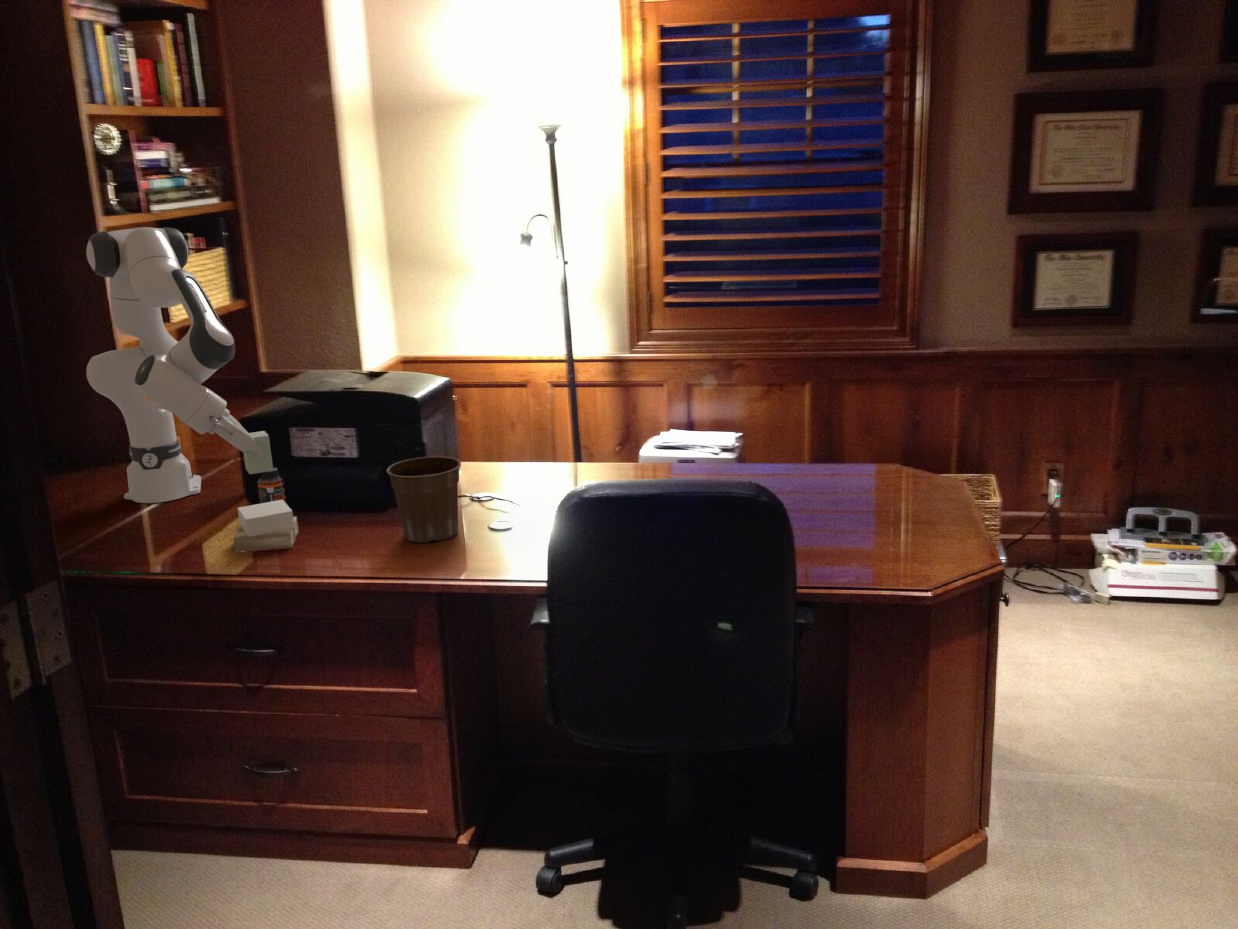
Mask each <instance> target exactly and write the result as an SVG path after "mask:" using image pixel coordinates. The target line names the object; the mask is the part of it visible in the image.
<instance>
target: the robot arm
mask: <svg viewBox="0 0 1238 929" xmlns="http://www.w3.org/2000/svg"><path fill="white" fill-rule="evenodd" d="M85 252H86V259H87V262H88V264H89V265H90V267H91V270H92V271H93V272H94V273H95V274H96V275H97V276H99V277H103V278H109V279H108V281H109V282H108V284H109V285H108V286H109V296H110V297H109V298H110V308H111V316H112V317H111V318H112V322H113V324H114V327H115V328H117V330H118V331H119V332H120V333H123V334H126V335H129V336H131V337H135V338H137V339H138V340H139V345H137V346H135V347H134V346H133V347H128V348H121V349H120V348H119V349H114V350H113V349H112V350H109V351H106V352H103V353H102V352H101V353H100V354H97V355H93V356H91V358H90V359H89V361H88V363H87V365H86V374H85V375H86V379H87V382H88V383H89V386H91V388H92V389H93V390H94V391H95V392H96V393H98V394H99V395H101V396H104V397H105V398H107V399H109V400H110V401H111V402H112V403H114V404H115V405H116V407H117V408H118V409H119V410H120V412H121V413H122V416H123V419H124V421H125V425H126V427H127V429H126V430H127V433H128V438H129V444H130V445H129V450H128V451H129V452H128V453H129V455H130V456H129V457H130V460H132V461H131V463H130V464H129V465H128V466H126V473H127V476H126V477H127V483H128V492H126V493H124V495H123V497H124V498H123V499H125V500H128V501H129V500H131V501H133V502H135V503H139V504H140V503H141V504H156V503H164V502H170V501H174V500H178V499H182V498H185V497H187V496H192V495H196V494H199V493H201V487H202V477H201V475H198V474H193V473H192V470H191V465H190V464H191V463H190V461H189V460H188V459H187V458H186V456H185V455H183V453H182V448H181V447H182V446H181V438H180V437H179V436H177V432H176V426H175V420H174V415H175V416H176V417H177V418H178V419H179V420H180V421H181V422H182V423H184V424H186V425H187V426H188V427H190V428H191V429H192V430H194V431H195V432H197V433H198V434H199V435H204V434H206V433H208V434H210V435H214V434H217V435H218V436H219V437H221V438H222V439H223V440H225V441H226V442H228V443H229V444H231V446H233V447H234V448H236V449H238V450H239V451H240V452H243V453H244V452H247V451H248V450H250V451H252V452H254V453H255V454H257V455H258V456H262V455H263V454H264V453H265V450H264V449H263V448H262V447H261V446H259V445H258V444H256V443H255V442H254V441H255V440H254V438H253V437H252V436H251V435H250V434H249V433H250V432H248V431H247V430H246V429H245V428H244V426H242V424H241V423H240V422H239V421H238V420H237V418H235V417H234V416H233V415H232V414H230V413H231V412H230V410H229V409H227V404H228V402H227V401H226V399H224V398H222V396H220V395H218V394H217V393H215V392H214V391H212V389H210V388H208V387H206V386H204V385H202V384H203V383H204V382H205V381H207V380H208V379H209V378H210V377H211V376H213V374H214V373H216V372H217V371H218V370H219V369H220V368H222V367H224V366H225V365H226V364H228V363H229V362H230V361H232V360H233V359H234V358H235V354H236V343H235V342H236V341H235V339H234V337H233V335H232V333H231V331H230V330H229V329H228V328H227V327H226V325H225V324H224V323H223V322H222V320H221V319H220V317H219V315H218V314H217V311H216V310H215V308H214V306H213V304H212V302H211V300H210V299H209V297H208V295H207V293H206V292H205V290H204V288H203V286H202V285H201V283H200V281H199V280H198V279H197V277H196V276H194V275H193V274H192V273H191V272H190V271H188V270H186V269H184V268H185V267H186V265H187V263H188V257H189V247H188V243H187V240H186V239H185V236H184V235H183V233H182V232H181V231H180V230H179V229H176V228H173V227H166V226H164V227H162V228H161V227H160V228H159V227H150V226H149V227H148V226H142V227H133V228H126V229H118V230H111V231H106V230H103V231H99V232H96V233H93V234H92V235H91V236H90V237H89V238H88V240H87V245H86V251H85ZM178 305H182V307H183V309H184V311H185V313H186V315H187V317H188V319H189V320H190V326H189V329H188V331H187V332H186V334H185V335H184V336H182V338H181V339H180V340H179V341H178V340H176V339H175V338H174V337H173V336H172V335H171V333H169V331H168V329H167V327H166V326H165V323H164V321H163V320H164V319H163V315H162V309H161V308H163V309H164V308H172V307H176V306H178ZM148 398H149V399H150V400H149V399H148ZM173 414H174V415H173Z"/></svg>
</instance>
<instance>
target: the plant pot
mask: <svg viewBox="0 0 1238 929" xmlns="http://www.w3.org/2000/svg"><path fill="white" fill-rule="evenodd" d="M461 466H462V463H461V461H460V460H459V459H457V458H454V457H448V456H438V455H437V456H423V457H416V458H415V457H414V458H410V459H404V460H400V461H398V462H395V463H393V464H391V465H389V466H388V467H387V469H386V473H387V475H389V479H390V484H391V488H392V489H393V492H394V495H395V499H396V505H397V510H398V514H399V519H400V524H401V529H402V534H403V538H404V539H405V540H407V541H409V542H412V543H418V544H419V543H420V544H423V543H425V544H426V543H427V544H428V543H430V542H431V541H436V542H440V541H441V542H442V541H445V540H449V539H451V538H452V537H454V536H455V535H457V534H458V531H459V499H458V498H459V497H458V496H459V495H458V494H459V493H458V492H459V482H460V468H461Z"/></svg>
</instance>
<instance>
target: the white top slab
mask: <svg viewBox="0 0 1238 929" xmlns="http://www.w3.org/2000/svg"><path fill="white" fill-rule="evenodd" d="M237 514H238V520H239V525H241V527H242V528H243V530H244V531H245V532H246V534H247V535H248V537H251V536H256V535H261V534H266V533H271V532H276V531H281V530H286V529H291V528H295V527H294V519H293V517H294V514H293V509H292V508H290V506H289V505H288V503H285V502H284V501H283V500H277V501H272V502H266V503H261V504H260V503H257V504H256V503H255V504H252V505H251V504H250V505H246V506H245V505H244V506H240V507H237Z"/></svg>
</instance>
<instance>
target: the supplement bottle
mask: <svg viewBox="0 0 1238 929" xmlns="http://www.w3.org/2000/svg"><path fill="white" fill-rule="evenodd" d="M279 476H280V474H279V471H278V468H277V467H274V468H273V471H267V472H261V473H260V477H259V479H258V480H257V490H258V497H259V504H261V503H266V502H272V501H277V500H283V501H284V502H285V503H286V502H287V501H286V495H285V494H286V493H285V494H284V492H285V487H284V488H283V484H284V482H283V483H282V479H283V478H282V479H281V478H280V477H281V476H280V477H279ZM286 504H287V503H286Z"/></svg>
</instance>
